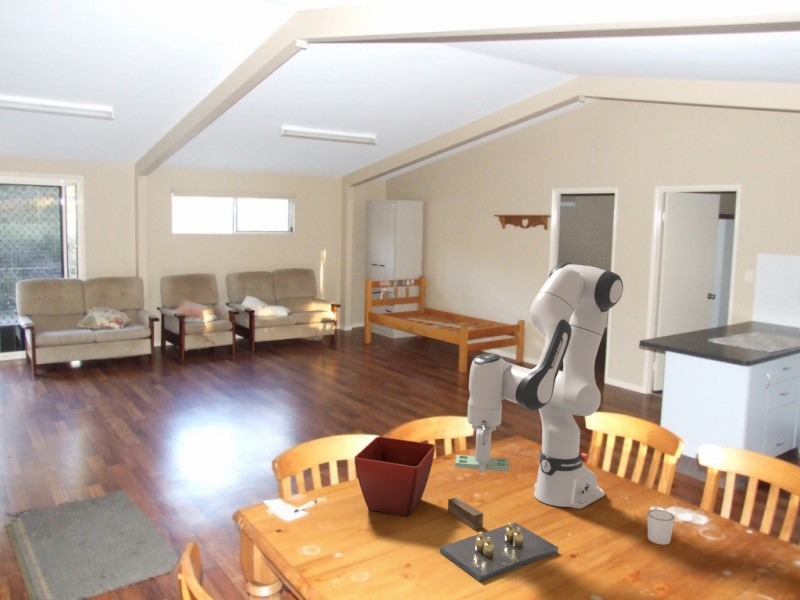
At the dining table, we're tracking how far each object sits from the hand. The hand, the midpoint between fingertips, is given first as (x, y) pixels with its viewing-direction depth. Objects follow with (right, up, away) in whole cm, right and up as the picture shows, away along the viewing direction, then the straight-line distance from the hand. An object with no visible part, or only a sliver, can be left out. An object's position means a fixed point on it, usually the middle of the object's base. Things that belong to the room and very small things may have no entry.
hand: (482, 466), depth 177 cm
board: (0, 0, 0) cm, 0 cm away
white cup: (+48, -21, +3) cm, 52 cm away
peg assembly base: (+4, -21, -6) cm, 22 cm away
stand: (-3, -18, +12) cm, 22 cm away
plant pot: (-23, -17, +20) cm, 35 cm away
